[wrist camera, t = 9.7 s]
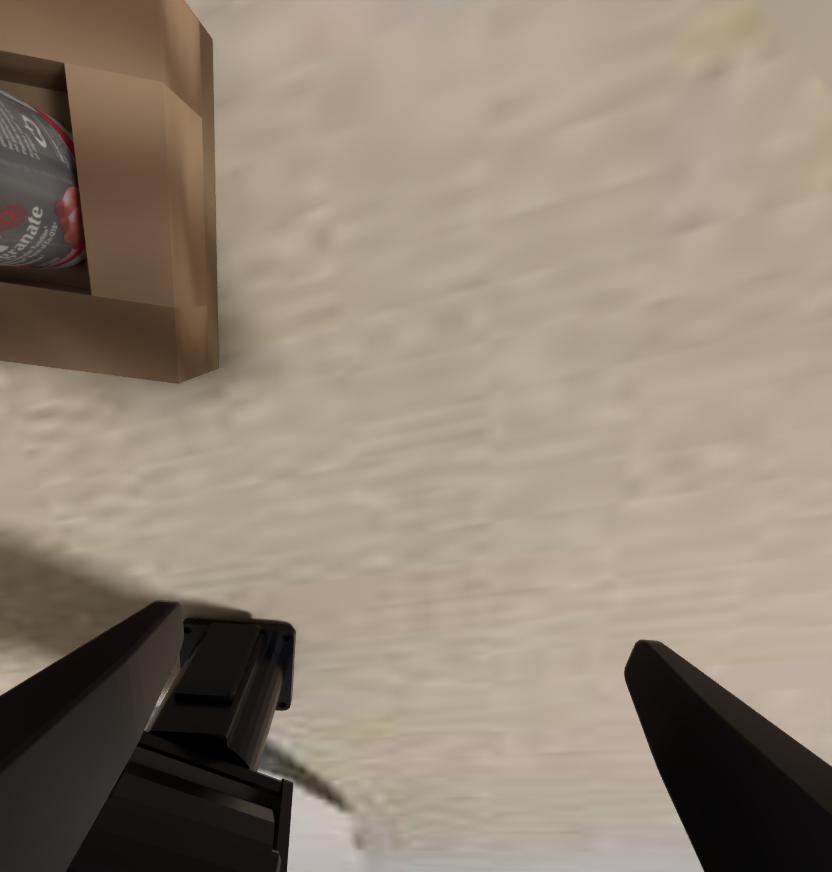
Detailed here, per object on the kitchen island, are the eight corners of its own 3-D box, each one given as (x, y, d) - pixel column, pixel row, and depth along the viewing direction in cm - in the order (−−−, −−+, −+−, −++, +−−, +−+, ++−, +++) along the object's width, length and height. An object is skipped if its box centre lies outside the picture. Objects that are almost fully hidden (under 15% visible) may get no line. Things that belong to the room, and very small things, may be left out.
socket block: (218, 367, 18) (178, 383, 15) (-68, 329, 17) (-180, 337, 14) (212, 39, 14) (155, -40, 11) (-160, -38, 13) (-349, -152, 10)
